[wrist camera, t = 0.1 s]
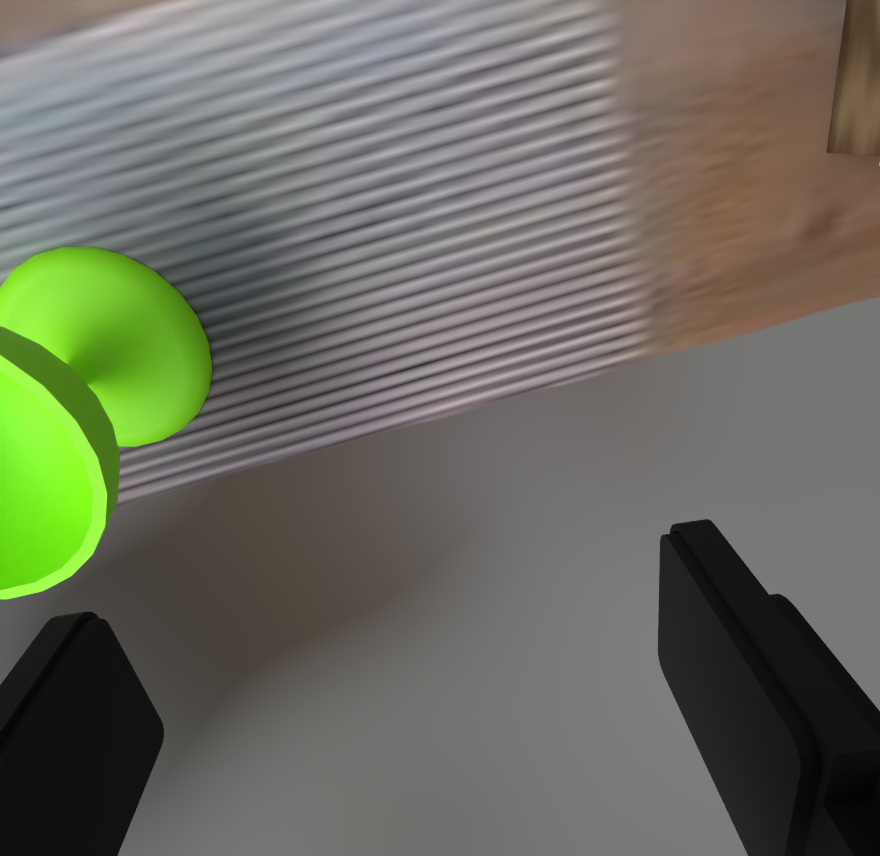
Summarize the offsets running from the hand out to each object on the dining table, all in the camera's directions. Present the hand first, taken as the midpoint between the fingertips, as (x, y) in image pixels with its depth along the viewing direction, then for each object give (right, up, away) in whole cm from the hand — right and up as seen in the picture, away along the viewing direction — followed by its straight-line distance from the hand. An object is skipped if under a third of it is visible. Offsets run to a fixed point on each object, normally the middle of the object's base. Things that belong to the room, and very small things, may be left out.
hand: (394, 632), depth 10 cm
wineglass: (-25, +9, +35) cm, 44 cm away
